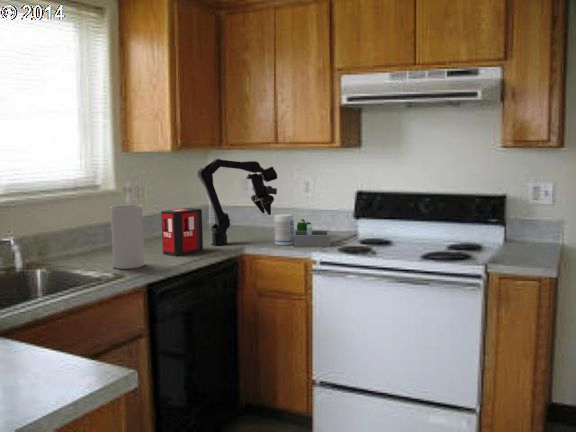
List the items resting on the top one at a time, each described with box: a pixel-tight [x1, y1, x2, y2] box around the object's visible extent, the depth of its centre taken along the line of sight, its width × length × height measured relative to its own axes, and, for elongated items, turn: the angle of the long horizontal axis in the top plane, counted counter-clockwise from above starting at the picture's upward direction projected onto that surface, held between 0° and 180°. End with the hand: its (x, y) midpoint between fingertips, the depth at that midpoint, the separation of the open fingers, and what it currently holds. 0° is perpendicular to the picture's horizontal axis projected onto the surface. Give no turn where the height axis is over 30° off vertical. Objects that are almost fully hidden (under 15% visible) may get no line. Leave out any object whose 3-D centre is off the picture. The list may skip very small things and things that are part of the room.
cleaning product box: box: [160, 207, 204, 257], centre depth 282 cm, size 16×9×20 cm, turn 139°
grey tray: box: [293, 230, 331, 248], centre depth 300 cm, size 18×17×6 cm
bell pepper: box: [296, 218, 312, 231], centre depth 322 cm, size 8×8×10 cm
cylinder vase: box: [110, 204, 145, 270], centre depth 251 cm, size 12×12×25 cm
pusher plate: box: [307, 223, 313, 235], centre depth 300 cm, size 2×13×9 cm, turn 177°
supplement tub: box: [274, 213, 295, 246], centre depth 300 cm, size 10×10×15 cm
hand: (266, 214), depth 311 cm, fingers open, 9 cm apart
